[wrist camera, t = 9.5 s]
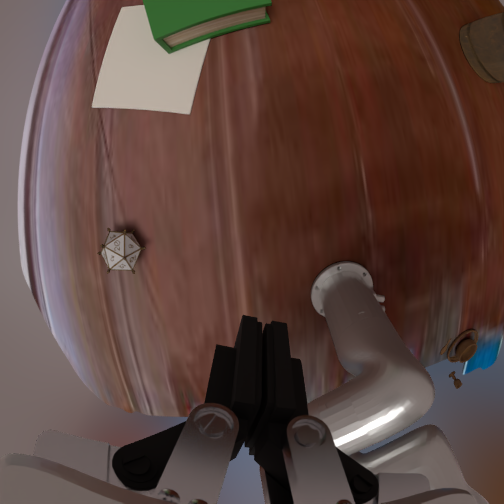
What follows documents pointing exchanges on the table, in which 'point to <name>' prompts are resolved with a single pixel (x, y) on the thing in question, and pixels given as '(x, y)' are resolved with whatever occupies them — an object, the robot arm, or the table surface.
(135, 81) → the desk pad
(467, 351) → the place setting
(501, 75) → the wooden container
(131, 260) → the game die
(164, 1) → the hardback book
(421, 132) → the table surface
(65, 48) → the table surface
